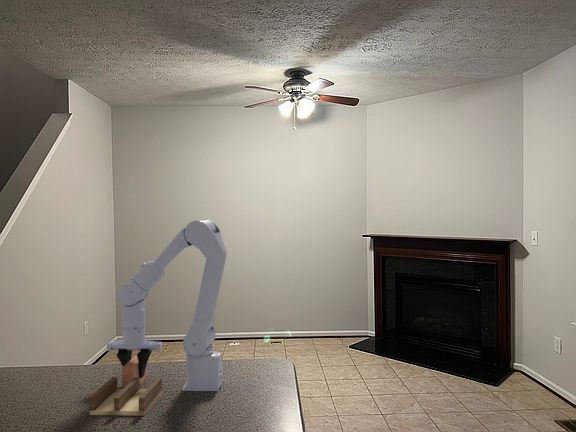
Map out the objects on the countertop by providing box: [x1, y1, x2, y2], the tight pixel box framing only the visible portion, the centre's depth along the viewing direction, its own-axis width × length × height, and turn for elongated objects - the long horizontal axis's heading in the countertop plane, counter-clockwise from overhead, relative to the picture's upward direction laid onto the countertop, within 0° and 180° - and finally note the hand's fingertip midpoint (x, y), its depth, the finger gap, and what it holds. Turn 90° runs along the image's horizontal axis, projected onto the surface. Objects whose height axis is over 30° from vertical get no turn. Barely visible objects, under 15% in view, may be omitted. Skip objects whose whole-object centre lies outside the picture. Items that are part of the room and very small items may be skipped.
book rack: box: [88, 376, 163, 417], centre depth 118 cm, size 13×13×4 cm
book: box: [121, 354, 148, 389], centre depth 131 cm, size 3×10×6 cm, turn 177°
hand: (135, 376), depth 131 cm, fingers closed on book, 3 cm apart
